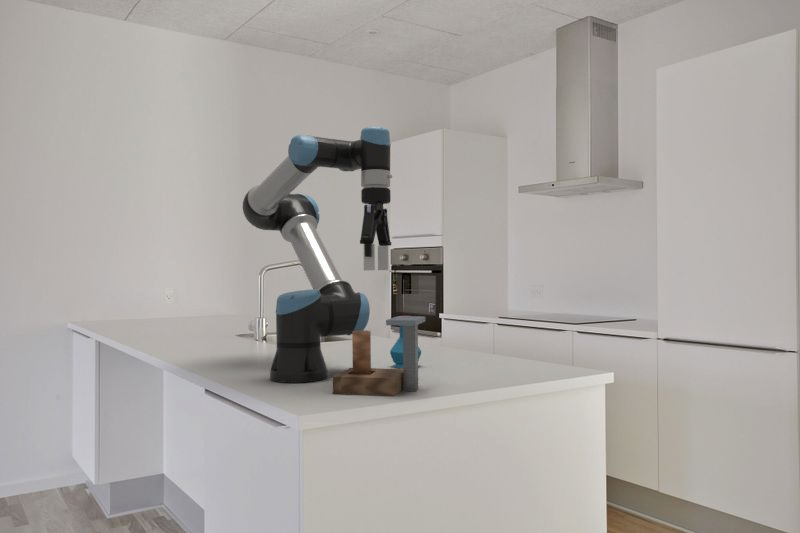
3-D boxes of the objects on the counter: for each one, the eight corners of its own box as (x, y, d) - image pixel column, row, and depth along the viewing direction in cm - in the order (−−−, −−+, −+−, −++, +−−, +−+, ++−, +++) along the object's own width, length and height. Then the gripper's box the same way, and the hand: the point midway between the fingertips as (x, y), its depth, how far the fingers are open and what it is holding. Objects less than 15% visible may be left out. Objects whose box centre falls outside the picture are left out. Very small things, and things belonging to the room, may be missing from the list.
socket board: (332, 393, 157) (332, 376, 157) (350, 383, 170) (350, 367, 170) (394, 395, 153) (394, 378, 153) (408, 385, 167) (408, 369, 167)
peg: (350, 390, 161) (350, 332, 161) (355, 387, 165) (355, 330, 165) (368, 391, 160) (367, 332, 160) (373, 387, 164) (372, 330, 164)
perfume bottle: (402, 363, 205) (401, 314, 205) (427, 366, 199) (426, 315, 199) (384, 367, 197) (383, 316, 197) (409, 370, 192) (409, 317, 192)
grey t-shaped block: (386, 393, 156) (385, 320, 156) (398, 384, 168) (397, 316, 168) (416, 395, 154) (415, 320, 154) (425, 385, 166) (425, 316, 166)
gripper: (377, 181, 160) (378, 270, 160) (400, 192, 184) (401, 269, 184) (347, 182, 162) (348, 270, 162) (374, 193, 186) (375, 269, 186)
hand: (376, 270), depth 173 cm, fingers open, 13 cm apart
